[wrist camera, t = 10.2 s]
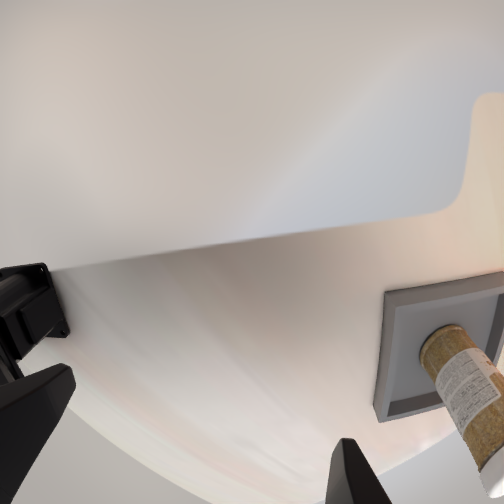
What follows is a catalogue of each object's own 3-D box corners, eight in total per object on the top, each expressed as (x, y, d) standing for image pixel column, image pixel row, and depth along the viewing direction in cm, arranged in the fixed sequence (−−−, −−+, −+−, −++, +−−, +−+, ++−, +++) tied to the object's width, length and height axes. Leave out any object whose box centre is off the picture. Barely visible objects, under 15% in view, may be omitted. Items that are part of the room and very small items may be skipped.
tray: (372, 405, 24) (378, 423, 21) (384, 291, 20) (395, 306, 18) (476, 378, 23) (486, 392, 20) (503, 271, 19) (518, 282, 17)
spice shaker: (471, 344, 21) (555, 458, 8) (429, 378, 22) (494, 505, 9) (454, 311, 20) (558, 434, 7) (408, 349, 21) (484, 494, 8)
